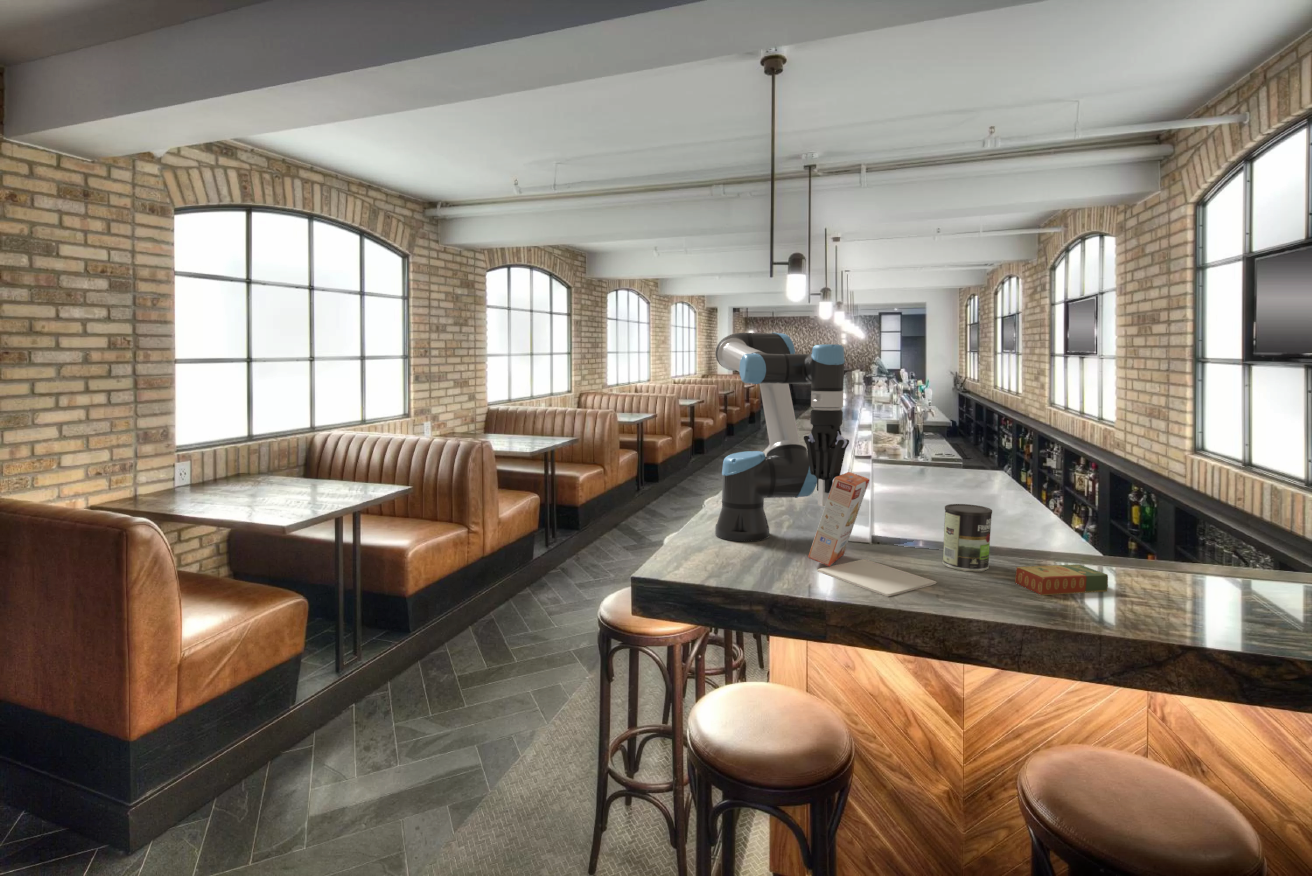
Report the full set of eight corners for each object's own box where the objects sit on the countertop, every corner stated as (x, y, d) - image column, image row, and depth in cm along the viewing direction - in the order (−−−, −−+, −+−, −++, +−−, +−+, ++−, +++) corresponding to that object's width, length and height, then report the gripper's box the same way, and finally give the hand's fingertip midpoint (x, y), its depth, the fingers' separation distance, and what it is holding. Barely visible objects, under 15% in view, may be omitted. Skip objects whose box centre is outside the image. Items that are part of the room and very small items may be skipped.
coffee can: (996, 566, 160) (999, 508, 159) (977, 574, 153) (981, 514, 152) (953, 556, 168) (956, 501, 166) (934, 564, 161) (936, 507, 160)
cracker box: (830, 568, 156) (858, 484, 152) (806, 558, 159) (833, 475, 155) (845, 555, 169) (871, 478, 164) (822, 546, 171) (847, 470, 167)
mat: (817, 571, 156) (817, 569, 156) (864, 560, 164) (864, 558, 164) (887, 596, 139) (887, 594, 139) (936, 583, 147) (936, 581, 147)
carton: (1014, 584, 148) (1015, 565, 148) (1077, 580, 151) (1078, 562, 150) (1041, 596, 140) (1043, 577, 139) (1108, 593, 143) (1109, 573, 142)
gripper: (796, 408, 165) (794, 502, 167) (835, 410, 153) (832, 511, 156) (818, 407, 168) (816, 499, 171) (858, 409, 157) (855, 508, 160)
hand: (824, 505), depth 163 cm, fingers closed
